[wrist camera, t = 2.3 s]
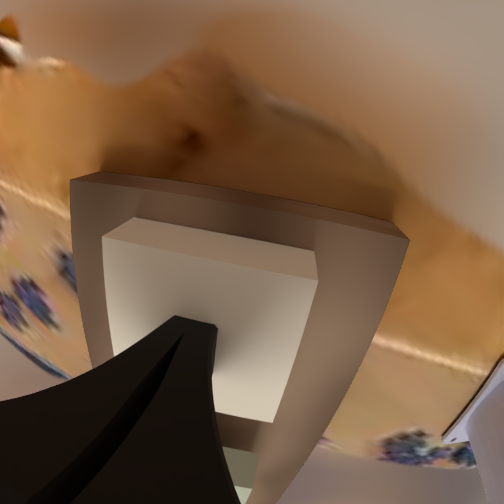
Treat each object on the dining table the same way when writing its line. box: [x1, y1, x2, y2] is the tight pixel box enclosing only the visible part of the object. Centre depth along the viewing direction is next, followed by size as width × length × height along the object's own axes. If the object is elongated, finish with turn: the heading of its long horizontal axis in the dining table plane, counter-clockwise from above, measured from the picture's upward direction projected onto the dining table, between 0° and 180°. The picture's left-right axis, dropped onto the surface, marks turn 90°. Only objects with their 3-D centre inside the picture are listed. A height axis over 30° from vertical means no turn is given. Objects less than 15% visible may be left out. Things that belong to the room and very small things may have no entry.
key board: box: [70, 172, 410, 504], centre depth 15 cm, size 12×27×2 cm, turn 171°
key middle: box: [222, 446, 258, 504], centre depth 12 cm, size 6×6×2 cm
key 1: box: [102, 217, 318, 423], centre depth 10 cm, size 6×6×2 cm
